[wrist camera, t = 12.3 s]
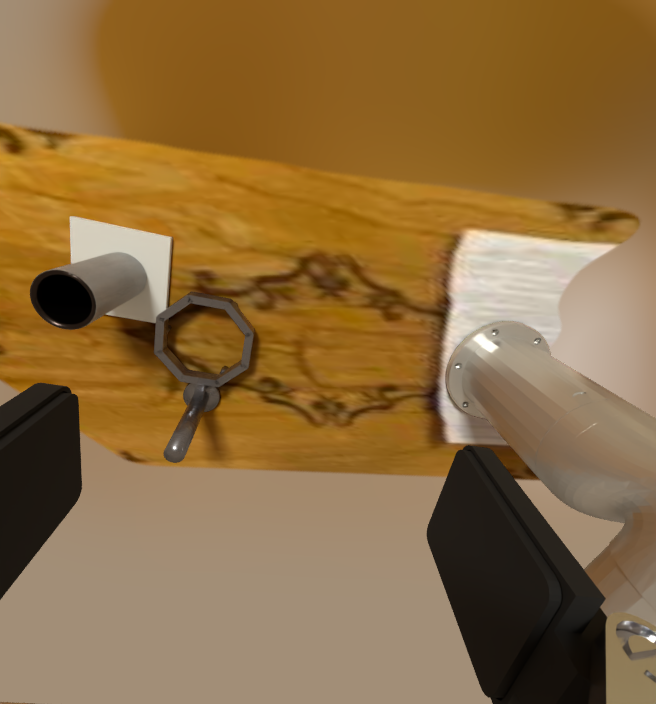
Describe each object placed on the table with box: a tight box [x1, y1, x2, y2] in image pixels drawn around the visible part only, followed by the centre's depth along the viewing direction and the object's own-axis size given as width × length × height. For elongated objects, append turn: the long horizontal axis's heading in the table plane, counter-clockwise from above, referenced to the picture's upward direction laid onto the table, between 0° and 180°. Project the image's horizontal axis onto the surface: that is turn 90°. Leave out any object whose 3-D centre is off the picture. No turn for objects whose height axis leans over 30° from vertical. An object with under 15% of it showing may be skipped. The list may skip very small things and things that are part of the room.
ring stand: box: [154, 292, 255, 463], centre depth 36 cm, size 10×14×11 cm
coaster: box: [70, 216, 173, 323], centre depth 37 cm, size 9×9×1 cm
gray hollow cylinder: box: [30, 252, 146, 330], centre depth 32 cm, size 4×4×10 cm
